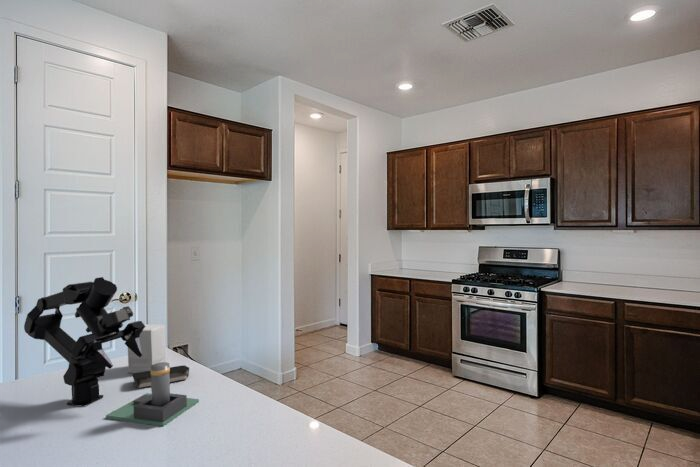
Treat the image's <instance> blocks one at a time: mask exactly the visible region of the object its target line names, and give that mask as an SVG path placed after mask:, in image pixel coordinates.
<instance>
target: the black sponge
mask: <svg viewBox="0 0 700 467" xmlns="http://www.w3.org/2000/svg"><path fill="white" fill-rule="evenodd" d="M169 374H170V383H172V382H173V383H174V382H177V381H183V380H186V379H188V378H189V376H190V367H189V366H187V365H186V364H185V365H177V366H176V365H175V366H171V367H170V372H169ZM131 377H132V378H133V382H134V386H135V387H137V388H145V387H151V371H145V372H138V373H131Z"/></svg>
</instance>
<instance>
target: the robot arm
mask: <svg viewBox="0 0 700 467" xmlns="http://www.w3.org/2000/svg"><path fill="white" fill-rule="evenodd" d="M117 291H118V287H117V285H116V284H115V283H113V281H110V280H107V279H105V278H104V277H103V276H101V277H95V278H94V280H93V281H85V282H77V283H72V284H67V285H66V286H64V287H63V288H62V291H60V292H57V293H54V294H51V295H48V296H44V297H40V298H38V299H37V301H36V304H35V306H34V307H33V308H32V309H31V310H30V311H29V312H28V313H27V315H26V317H25V321H24V325H23V328H24V332H25V333H26V334H27V335H28V336H29V337H31V338H32V339H34V340H40V341H41V340H42V341H45V342H46V343H47V344H48V345H49V346H51V347H52V348H53V349H54V351H56V352H57V353H58V354H59V355H60V356H61V357H62V358H64V360H66V361H67V363H68V367H67V369H66V371H65V373H64V374H63V376H62V377H63V381H64V384H66V385H68V386H71V400H69V401H66V405H70V406H77V407H86V406H88V405H90V404H92V403H94V402H96V401H98V400H101V399H102V398H104V395H103V394H100V384H99V378H101V377H104V376H105V372H106V369H112V368H113V366H114V365H113V363H112V361H111V359H110V358H109V356H108V355H107V354H106V351H105V350H104V348H103V344H105V343H107V342H110V341H111V342H112V341H114V340H117V339H118V340H119V339H121V340H122V341H124V345H125V346H127V348H128V347H129V348H130V349H131V350H132V351H133V352H134V353H135V354H136V355H137V356H139V357H141V356H142V355H143V354H142V349H141V345H140V334H141V332H142V331H143V329H144V328H145V325H144V322H143V321H141V320H136V321H132V322H129V323H127V325H126V326H125V327H124V328H123V326H124V324H123V323H125V322H127V321H130V320H131V318H132V317H133V316H134V312H133V309H131V308H130V306H129V305H128V306H124V307H122V308H120V309H119V310H114V311H113V312H107V310H106V307H107V306H109V304H110V303H111V301H112V299H113V298H114V296H115V295H116V293H117ZM77 304H79V305H78V307H76V308H75V310H76V311H75V313H74V318H81V319H82V321H83V322H84V323H85V325H86V326H87V327H86V328H85V331H86V333H89V334H85V335H82V336H79V337H78V338H77V340H75V339H74V337H71V335H69V334H68V333H67V332H66V331H65V330H64V329H62V328H61V324H62V321H63V320H62V319H63V318H64V317H63V313H62V312H61V310H60V308H61V307H63V306H65V305H77ZM53 309H54V310H55V312H54V313H49V314H44V315H42V314H43V313H44V311H47V310H48V311H49V310H53ZM121 328H123V329H121ZM120 329H121V330H120Z"/></svg>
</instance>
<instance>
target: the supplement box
mask: <svg viewBox="0 0 700 467" xmlns="http://www.w3.org/2000/svg"><path fill="white" fill-rule="evenodd" d="M143 324H144V323H143ZM144 325H145V328H144V329H143V331H142V332H141V334H140V345H141V349H142V354H143V355H142V356H141V357H139V356H137V355H136V354H135V353H134V352H133V351H132V350H131V349H130V348H129V347H127V360H128V362H127V364H128V365H127V366H128V374H134V373H138V372H145V371H151V366H152V365H153V364H156V363H161V362H167V359H166V358H167V357H166V331H165V330H166V329H165V328H166V327H165V323H164V324H163V323H161V324H158V323H157V324H156V323H154V324H153V323H151V324H149V323H148V324H147V323H146V324H144Z"/></svg>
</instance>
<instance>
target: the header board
mask: <svg viewBox="0 0 700 467" xmlns="http://www.w3.org/2000/svg"><path fill="white" fill-rule="evenodd" d="M199 402H200V399H198V398H191V397H187V394H180V393H179V394H178V393H171V392H170V402H169V403H168V404H166V405H165V406H163V407H158V406H152V393H148V392H147V393H145V394H142V395H141V396H139V397H137V398H135V399H133V400H132V401H129V402H128V403H126V404H124V405H122V406H120V407H118V408H116V409H114V411H111V412H109V413H107V414H106V415H105V419H107V420H108V419H109V420H114V421H115V420H116V421H121V422H122V421H124V422H129V423H136V424H137V423H138V424H142V425H143V424H144V425H151V426H157V427H159V426H160V427H165V426H166V425H167V423H168V424H169V423H171V422H172V421H173V419H174V418H175V419H176V418H178V417H179V416H181V415H183V414H184V413H185V412H186V410H187V411H188V410H190V409H191V408H192V407H194V406H195V405H197V404H198V403H199ZM196 403H197V404H196ZM184 411H185V412H184ZM183 412H184V413H183ZM180 414H181V415H180ZM177 416H178V417H177ZM175 419H174V420H175ZM170 421H171V422H170Z"/></svg>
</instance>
